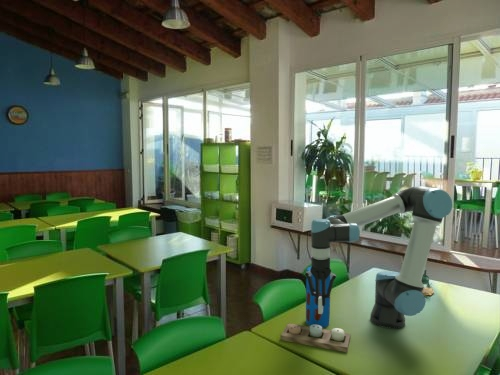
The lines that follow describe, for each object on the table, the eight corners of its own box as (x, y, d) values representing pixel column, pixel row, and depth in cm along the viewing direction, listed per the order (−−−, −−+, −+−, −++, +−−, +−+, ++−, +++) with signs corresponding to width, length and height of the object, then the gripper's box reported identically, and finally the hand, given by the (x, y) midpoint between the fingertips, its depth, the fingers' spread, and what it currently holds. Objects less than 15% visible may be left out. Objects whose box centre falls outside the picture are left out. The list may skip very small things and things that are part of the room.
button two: (322, 332, 157) (323, 325, 156) (320, 337, 152) (320, 330, 152) (311, 330, 159) (311, 323, 158) (308, 335, 154) (308, 328, 154)
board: (350, 338, 156) (350, 333, 156) (347, 352, 145) (347, 347, 145) (288, 327, 166) (288, 323, 166) (280, 339, 155) (280, 335, 154)
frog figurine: (442, 292, 210) (442, 268, 207) (422, 302, 201) (422, 276, 198) (426, 287, 218) (426, 263, 215) (407, 296, 209) (406, 271, 206)
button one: (344, 336, 154) (344, 328, 153) (343, 341, 149) (343, 334, 149) (332, 334, 155) (332, 326, 155) (330, 339, 151) (330, 332, 150)
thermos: (329, 329, 164) (330, 274, 162) (305, 326, 167) (306, 272, 164) (329, 318, 175) (330, 266, 173) (306, 316, 177) (307, 265, 175)
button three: (301, 332, 160) (301, 325, 160) (299, 337, 155) (299, 330, 155) (290, 330, 162) (290, 323, 162) (287, 335, 157) (287, 328, 157)
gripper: (338, 256, 153) (338, 311, 155) (307, 253, 158) (307, 306, 160) (335, 261, 146) (335, 318, 148) (302, 258, 151) (303, 314, 153)
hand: (320, 312), depth 154 cm, fingers closed
